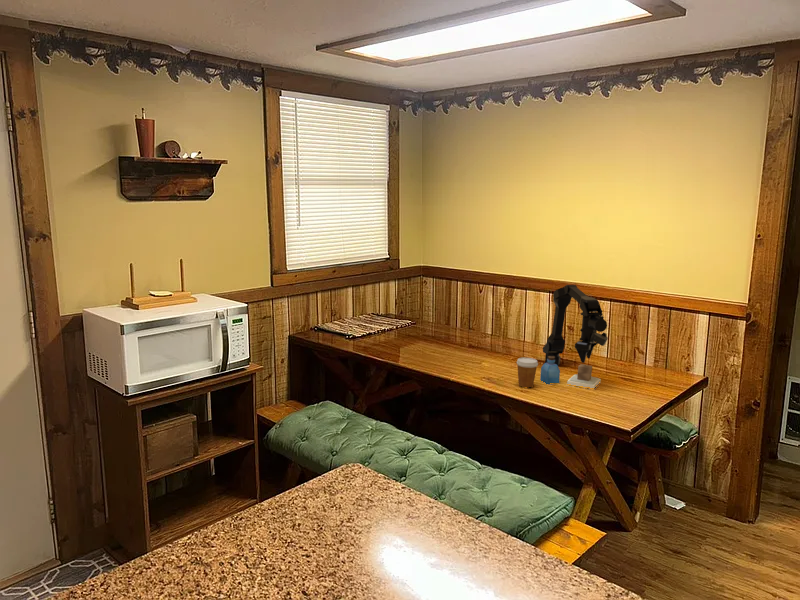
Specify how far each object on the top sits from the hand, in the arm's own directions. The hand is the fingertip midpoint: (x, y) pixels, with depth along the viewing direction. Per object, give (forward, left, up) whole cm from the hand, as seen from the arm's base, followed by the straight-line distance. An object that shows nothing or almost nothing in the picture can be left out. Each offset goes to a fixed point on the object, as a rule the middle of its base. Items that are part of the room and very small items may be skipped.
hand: (585, 360), depth 280 cm
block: (0, 0, -9) cm, 9 cm away
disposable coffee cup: (-21, -18, -11) cm, 30 cm away
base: (0, 0, -11) cm, 11 cm away
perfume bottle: (-14, -6, -12) cm, 19 cm away
